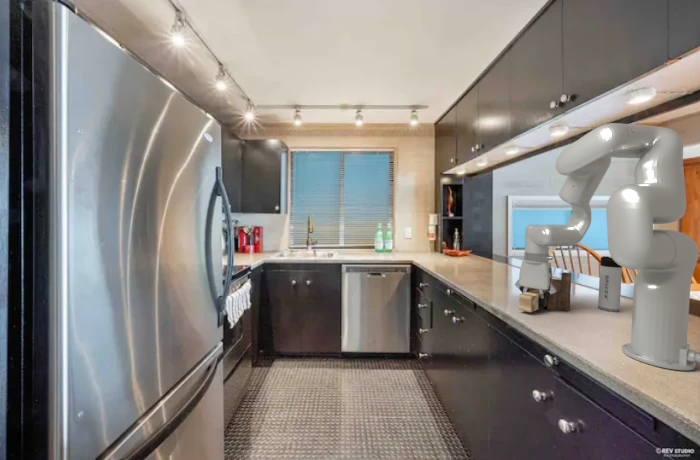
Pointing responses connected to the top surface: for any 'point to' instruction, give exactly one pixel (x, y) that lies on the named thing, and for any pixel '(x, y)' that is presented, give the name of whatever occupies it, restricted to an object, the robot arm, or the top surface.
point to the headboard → (560, 293)
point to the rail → (530, 300)
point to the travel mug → (609, 285)
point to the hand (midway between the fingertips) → (534, 306)
